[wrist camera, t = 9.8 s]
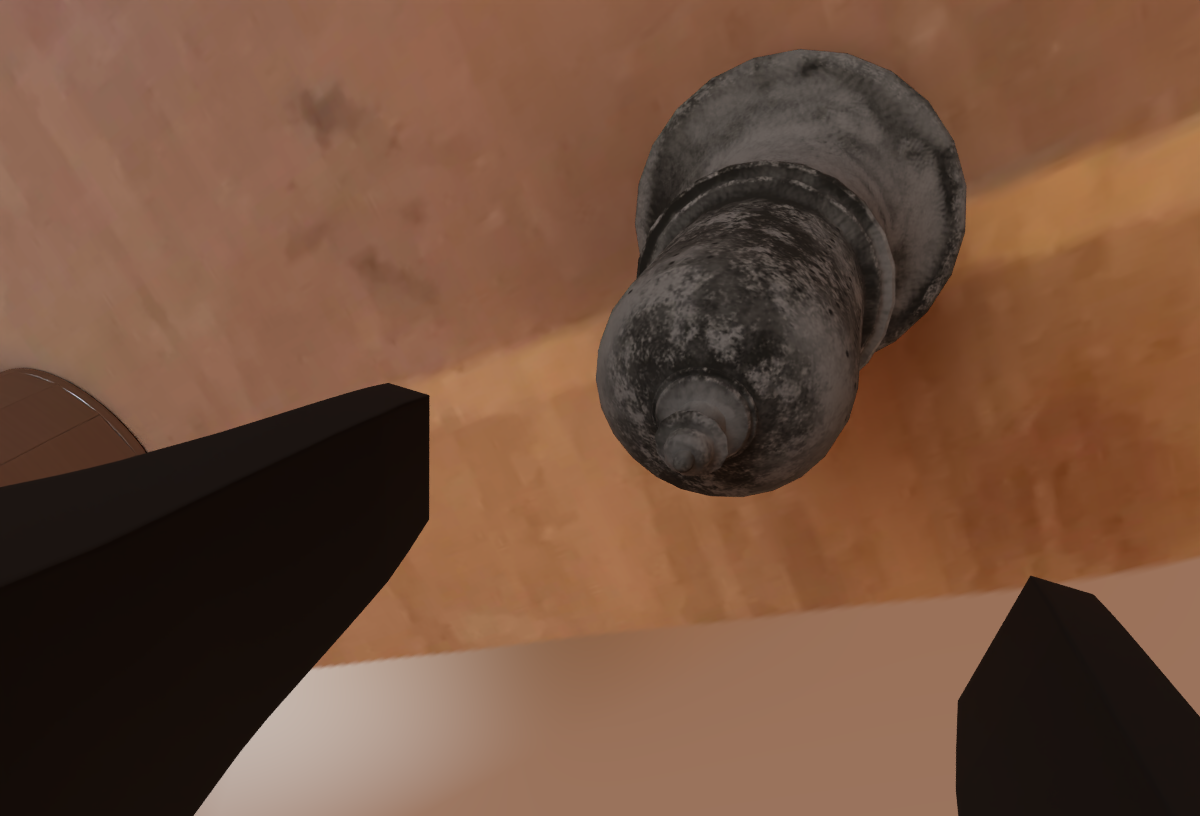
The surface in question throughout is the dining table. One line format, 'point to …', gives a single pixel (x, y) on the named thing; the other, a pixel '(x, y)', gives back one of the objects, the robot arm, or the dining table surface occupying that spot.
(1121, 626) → the robot arm
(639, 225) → the chess piece
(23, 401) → the pot
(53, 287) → the dining table surface
